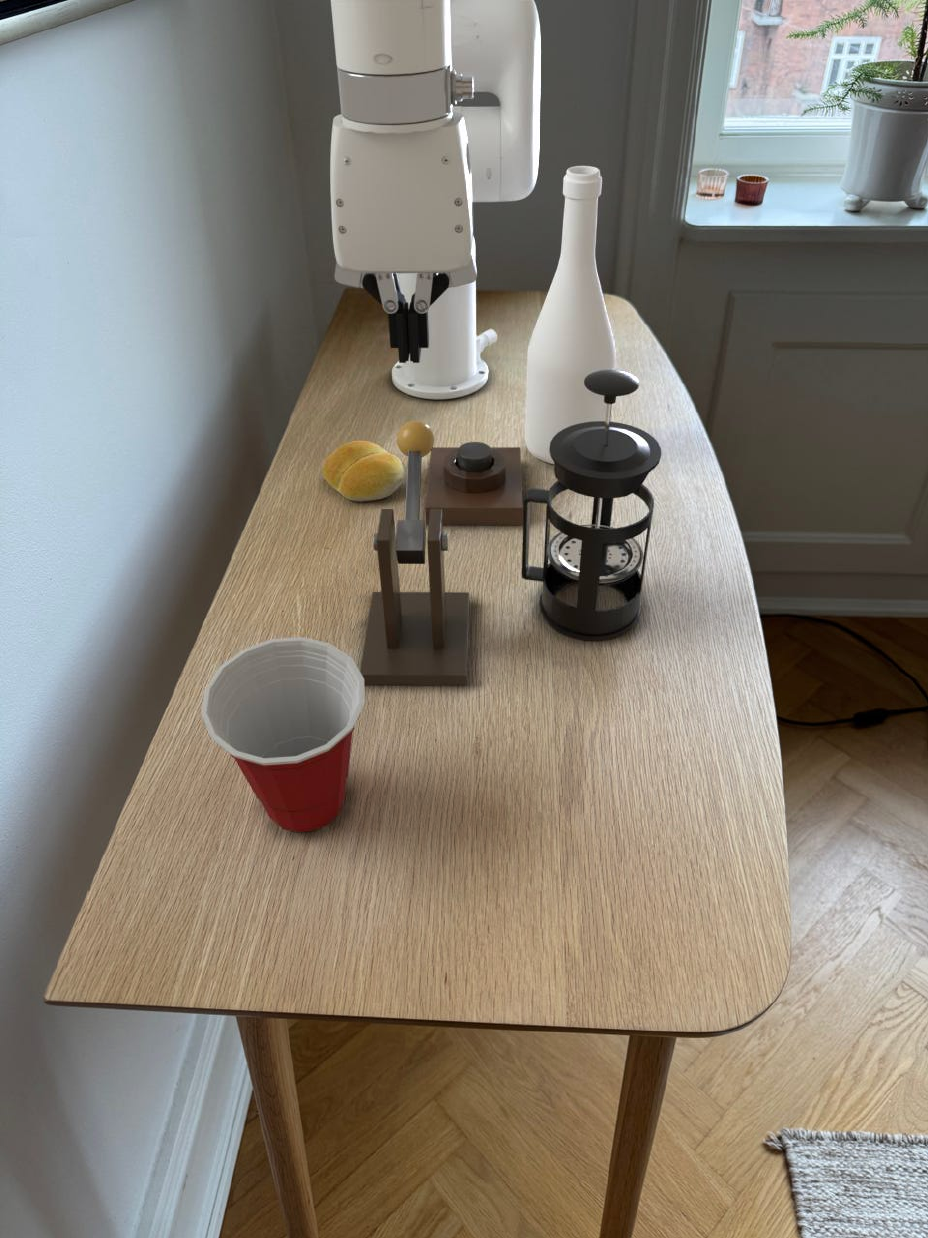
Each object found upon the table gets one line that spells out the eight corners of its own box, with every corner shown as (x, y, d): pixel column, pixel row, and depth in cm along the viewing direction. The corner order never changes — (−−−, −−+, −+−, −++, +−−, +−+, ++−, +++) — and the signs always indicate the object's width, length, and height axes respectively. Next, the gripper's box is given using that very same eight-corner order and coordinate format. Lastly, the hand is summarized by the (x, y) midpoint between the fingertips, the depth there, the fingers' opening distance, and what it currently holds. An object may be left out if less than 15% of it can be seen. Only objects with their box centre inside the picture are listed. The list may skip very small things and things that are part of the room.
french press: (652, 583, 87) (686, 356, 72) (643, 649, 80) (680, 414, 65) (530, 567, 89) (539, 344, 74) (512, 630, 83) (518, 398, 67)
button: (458, 455, 98) (457, 441, 97) (491, 455, 98) (491, 441, 97) (457, 473, 96) (456, 459, 95) (491, 473, 96) (491, 459, 94)
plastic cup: (240, 882, 63) (205, 772, 55) (226, 766, 71) (194, 654, 63) (393, 844, 66) (380, 732, 58) (363, 735, 73) (348, 623, 65)
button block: (431, 464, 104) (430, 432, 101) (519, 464, 104) (520, 432, 101) (426, 525, 95) (424, 492, 92) (522, 525, 95) (523, 493, 92)
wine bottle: (507, 447, 107) (512, 170, 87) (561, 418, 111) (578, 150, 92) (569, 478, 101) (589, 191, 82) (623, 447, 106) (654, 169, 86)
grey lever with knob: (399, 434, 81) (396, 412, 78) (435, 434, 80) (433, 412, 78) (392, 566, 75) (388, 547, 72) (431, 566, 75) (429, 548, 72)
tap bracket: (373, 601, 86) (361, 486, 77) (469, 602, 86) (467, 486, 77) (360, 685, 78) (345, 566, 69) (466, 685, 77) (464, 566, 69)
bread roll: (360, 513, 97) (357, 481, 94) (313, 479, 102) (309, 448, 99) (421, 484, 101) (419, 453, 98) (373, 453, 106) (370, 422, 103)
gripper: (507, 83, 64) (503, 335, 76) (294, 86, 64) (324, 336, 76) (508, 108, 58) (504, 376, 70) (275, 110, 59) (310, 377, 71)
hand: (410, 355), depth 73 cm, fingers closed
